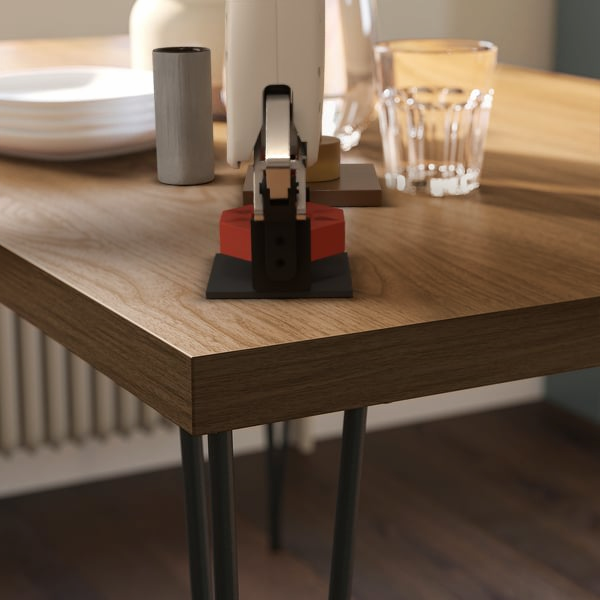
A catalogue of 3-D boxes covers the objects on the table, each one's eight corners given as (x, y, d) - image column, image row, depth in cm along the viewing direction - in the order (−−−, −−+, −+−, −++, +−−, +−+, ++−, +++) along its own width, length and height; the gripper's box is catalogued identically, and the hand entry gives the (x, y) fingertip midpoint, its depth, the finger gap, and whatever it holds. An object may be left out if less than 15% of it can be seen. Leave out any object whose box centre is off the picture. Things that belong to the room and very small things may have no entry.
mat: (205, 298, 64) (205, 291, 64) (215, 259, 72) (215, 253, 71) (353, 297, 64) (353, 290, 64) (347, 258, 72) (347, 251, 71)
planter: (180, 188, 91) (175, 53, 88) (146, 179, 95) (140, 49, 92) (226, 179, 94) (222, 48, 91) (191, 171, 98) (186, 45, 94)
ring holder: (242, 207, 85) (240, 112, 83) (248, 179, 94) (246, 93, 92) (381, 205, 85) (382, 111, 83) (373, 178, 94) (374, 92, 92)
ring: (217, 263, 64) (216, 231, 63) (225, 231, 70) (224, 202, 70) (346, 262, 64) (346, 229, 63) (342, 230, 70) (342, 201, 70)
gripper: (216, -54, 71) (226, 234, 76) (191, -50, 54) (206, 319, 59) (342, -56, 71) (343, 232, 76) (355, -52, 54) (355, 317, 59)
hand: (282, 268), depth 68 cm, fingers closed on ring, 7 cm apart
